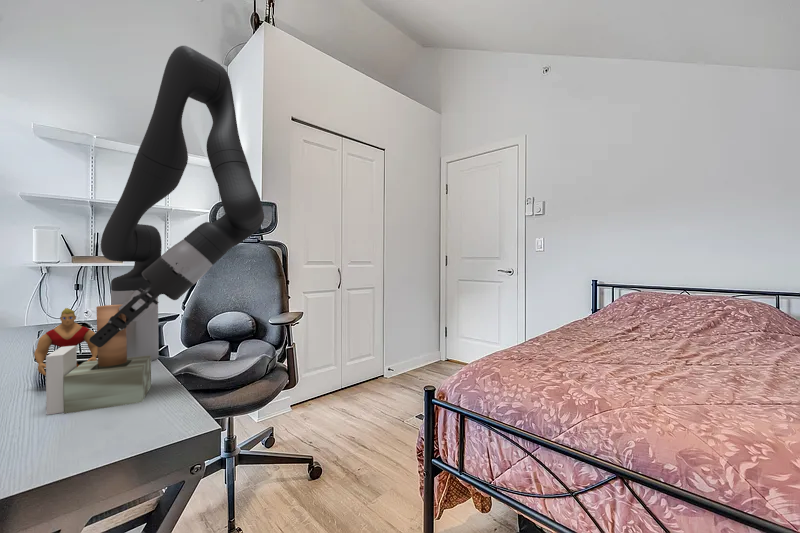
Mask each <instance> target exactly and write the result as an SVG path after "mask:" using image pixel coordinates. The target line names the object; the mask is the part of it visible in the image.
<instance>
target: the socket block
mask: <svg viewBox="0 0 800 533" xmlns="http://www.w3.org/2000/svg"><path fill="white" fill-rule="evenodd" d="M87 361H88V360H87ZM87 361H83V362H81V363H80V364H79V366H78V367H76V368H75V369H74V370H72V371H71V372H70V373H68V374H67V375H65V376H64V412H63V413H64V414H65V415H67V414H72V413H79V412H80V413H81V412H86V411H92V410H94V411H95V410H100V409H105V408H106V409H107V408H113V407H119V406H127V405H132V404H140V403H143V402H144V400H145V398H146V396H147V394H148V393H149V390H150V388H151V387H152V361H151V355H148V356H138V357H128V358H127V362H126V363H123V364H119V365H113V366H98V360H97V361H88V362H87Z"/></svg>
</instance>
